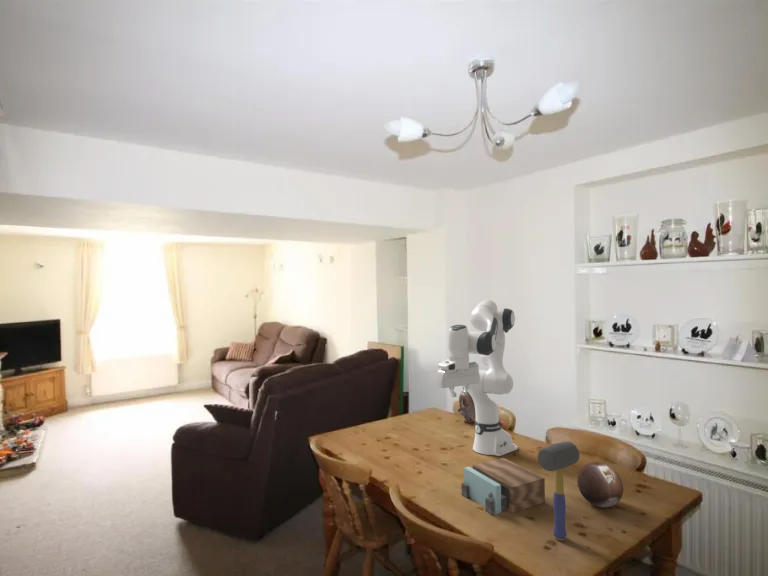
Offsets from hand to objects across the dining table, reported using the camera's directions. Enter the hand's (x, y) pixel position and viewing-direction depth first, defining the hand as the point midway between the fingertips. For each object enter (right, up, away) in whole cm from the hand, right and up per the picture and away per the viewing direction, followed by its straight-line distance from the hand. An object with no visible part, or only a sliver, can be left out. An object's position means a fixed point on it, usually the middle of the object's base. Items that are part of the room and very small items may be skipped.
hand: (459, 396), depth 184 cm
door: (+5, -34, -22) cm, 41 cm away
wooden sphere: (+47, -34, -26) cm, 63 cm away
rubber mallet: (+24, -34, -46) cm, 62 cm away
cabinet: (+12, -34, -19) cm, 41 cm away
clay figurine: (+19, -34, +74) cm, 84 cm away
